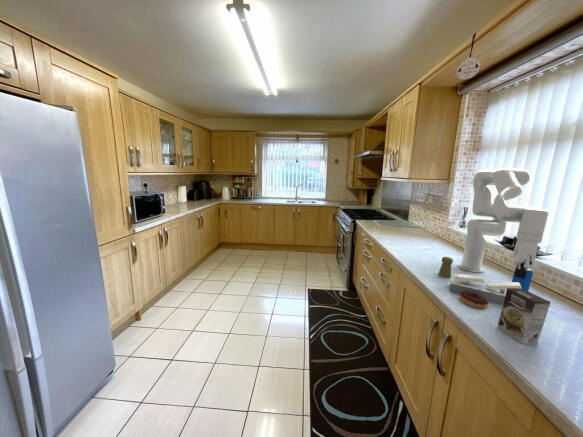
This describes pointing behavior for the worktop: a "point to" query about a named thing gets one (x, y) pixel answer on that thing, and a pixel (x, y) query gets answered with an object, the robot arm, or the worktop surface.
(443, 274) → the cork
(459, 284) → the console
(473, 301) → the donut
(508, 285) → the block
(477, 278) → the block
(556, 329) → the worktop surface
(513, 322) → the coffee box
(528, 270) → the beverage can
